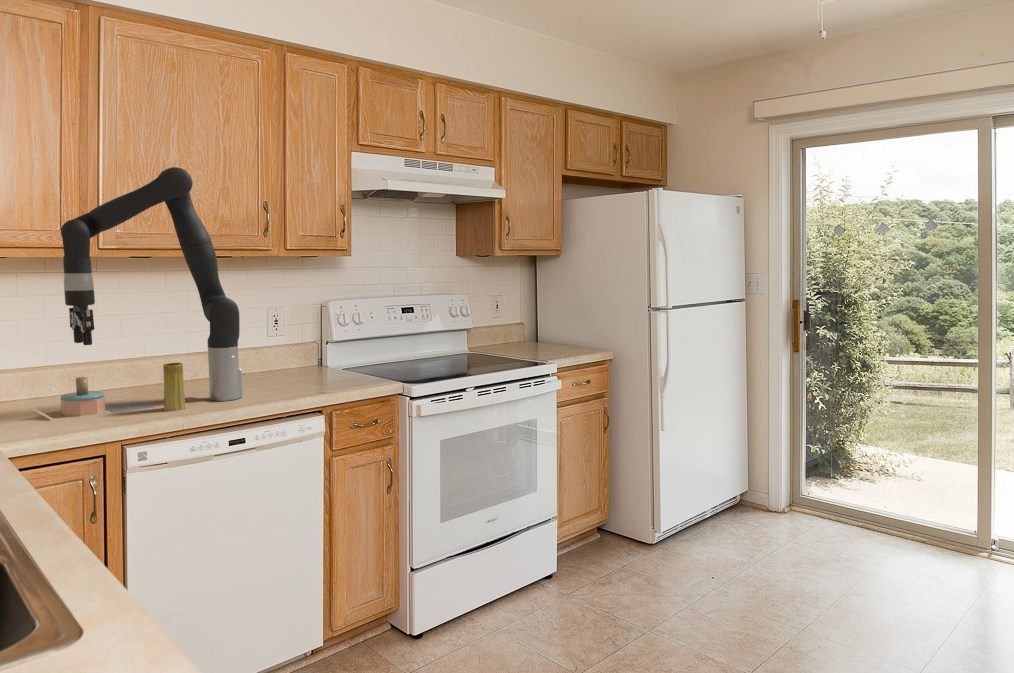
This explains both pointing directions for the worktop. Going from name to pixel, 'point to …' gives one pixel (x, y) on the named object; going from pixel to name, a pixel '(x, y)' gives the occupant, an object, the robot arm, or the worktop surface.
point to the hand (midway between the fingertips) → (83, 343)
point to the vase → (173, 387)
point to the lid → (82, 392)
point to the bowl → (83, 407)
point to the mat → (128, 406)
